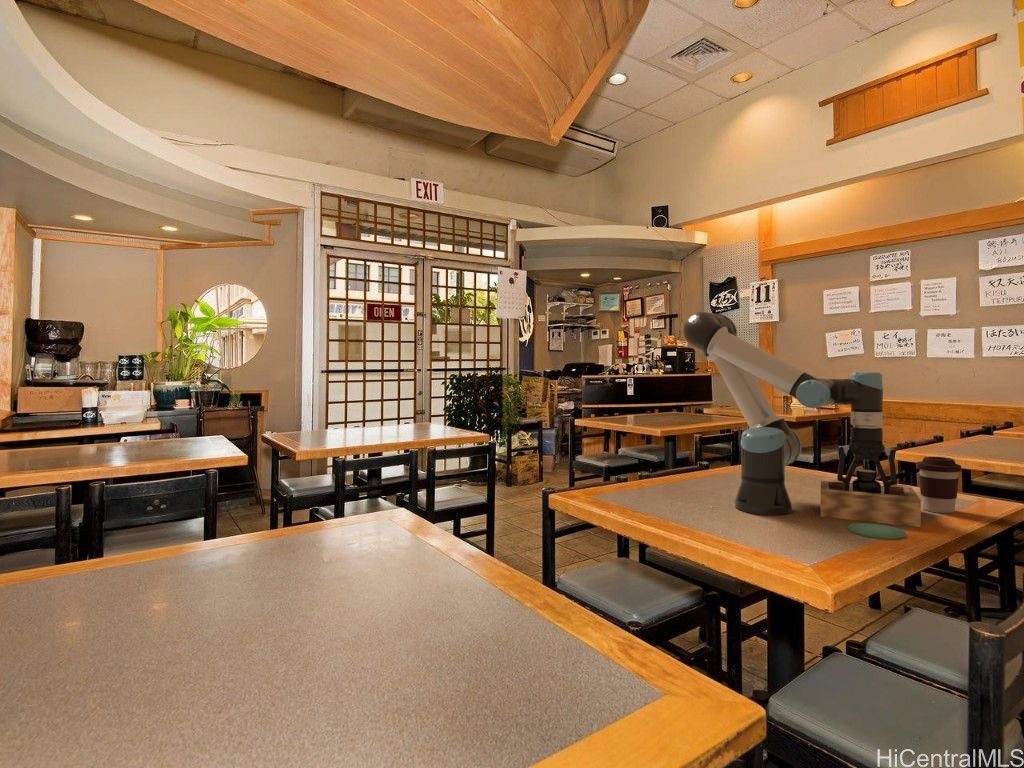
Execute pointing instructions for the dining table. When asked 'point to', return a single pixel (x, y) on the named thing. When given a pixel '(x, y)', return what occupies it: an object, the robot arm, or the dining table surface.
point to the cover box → (871, 504)
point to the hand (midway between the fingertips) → (866, 507)
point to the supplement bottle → (866, 482)
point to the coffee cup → (938, 483)
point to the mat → (876, 531)
